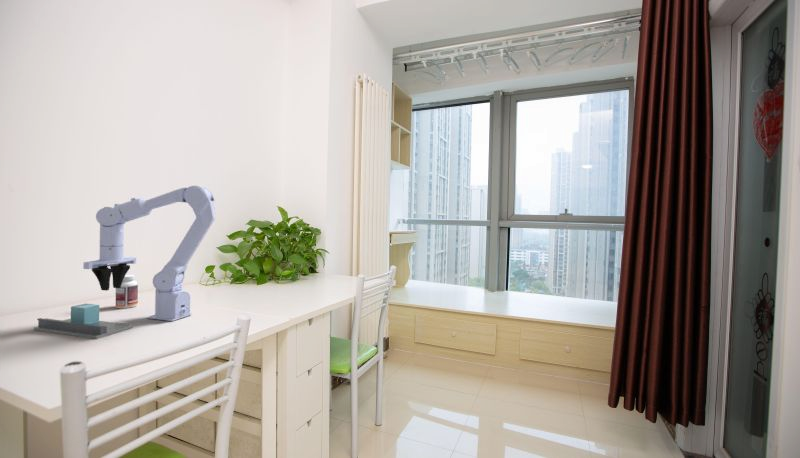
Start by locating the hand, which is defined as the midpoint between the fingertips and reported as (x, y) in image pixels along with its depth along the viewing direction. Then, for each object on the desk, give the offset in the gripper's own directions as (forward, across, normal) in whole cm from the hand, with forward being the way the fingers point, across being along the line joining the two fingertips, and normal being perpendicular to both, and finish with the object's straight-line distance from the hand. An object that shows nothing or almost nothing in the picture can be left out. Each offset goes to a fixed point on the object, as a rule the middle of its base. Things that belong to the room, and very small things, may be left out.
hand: (111, 289), depth 108 cm
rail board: (+9, +10, +3) cm, 14 cm away
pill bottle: (+10, -12, -9) cm, 18 cm away
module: (+9, +7, 0) cm, 11 cm away
